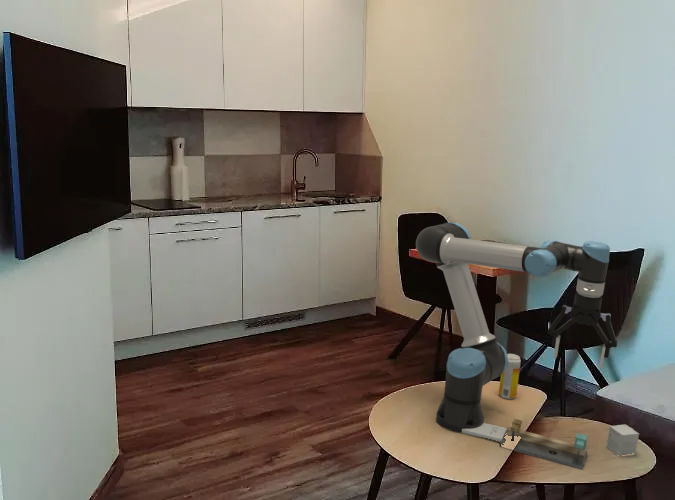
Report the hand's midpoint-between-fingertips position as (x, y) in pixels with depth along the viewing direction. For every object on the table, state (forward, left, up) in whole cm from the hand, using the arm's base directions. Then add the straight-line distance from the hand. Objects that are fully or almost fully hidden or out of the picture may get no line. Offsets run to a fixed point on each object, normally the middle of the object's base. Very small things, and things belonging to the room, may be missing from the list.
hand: (577, 361), depth 208 cm
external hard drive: (-23, -9, -26) cm, 36 cm away
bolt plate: (-5, -10, -26) cm, 29 cm away
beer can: (-23, +23, -26) cm, 42 cm away
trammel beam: (-5, -9, -25) cm, 27 cm away
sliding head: (+5, -9, -25) cm, 27 cm away
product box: (+16, +3, -27) cm, 31 cm away
